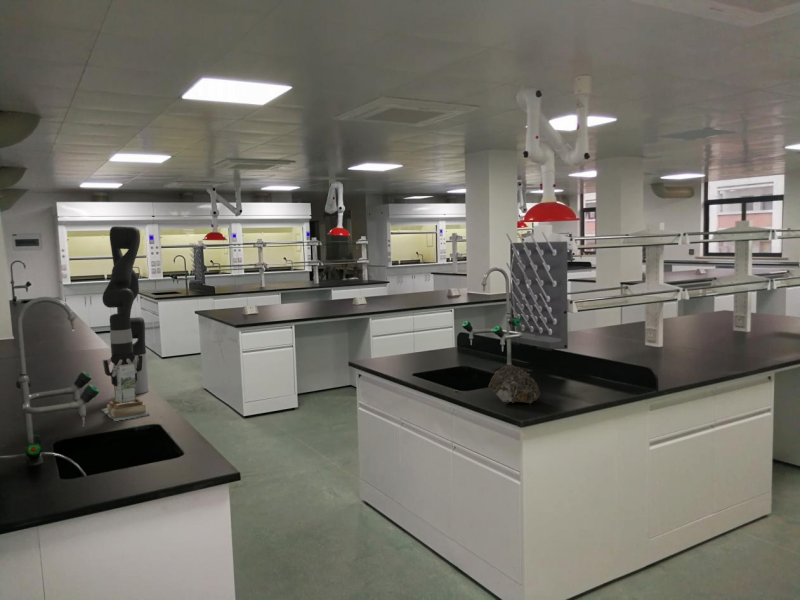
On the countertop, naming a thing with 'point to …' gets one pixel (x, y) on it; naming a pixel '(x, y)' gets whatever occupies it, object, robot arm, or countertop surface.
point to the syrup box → (125, 383)
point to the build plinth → (125, 410)
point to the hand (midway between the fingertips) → (124, 384)
